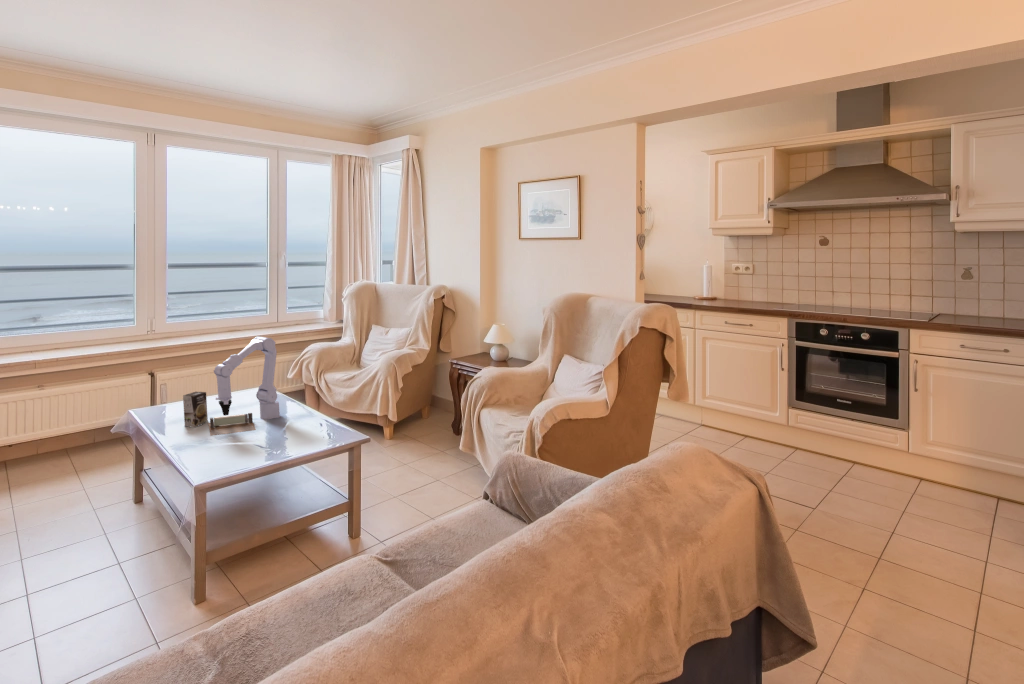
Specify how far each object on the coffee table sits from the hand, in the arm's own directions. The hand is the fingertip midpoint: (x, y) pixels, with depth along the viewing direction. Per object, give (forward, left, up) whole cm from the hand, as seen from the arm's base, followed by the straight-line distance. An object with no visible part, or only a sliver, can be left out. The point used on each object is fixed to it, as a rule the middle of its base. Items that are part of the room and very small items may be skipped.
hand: (225, 415), depth 276 cm
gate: (-3, -5, -6) cm, 9 cm away
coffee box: (+13, -16, -8) cm, 22 cm away
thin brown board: (-2, -2, -8) cm, 8 cm away
